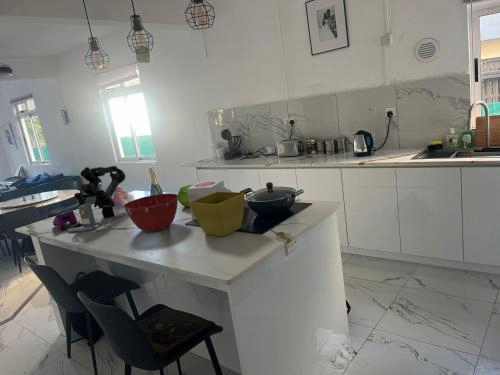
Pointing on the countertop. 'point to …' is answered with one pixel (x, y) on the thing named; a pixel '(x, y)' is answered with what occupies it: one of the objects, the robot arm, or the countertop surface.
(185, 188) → the lettuce
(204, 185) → the pizza boxes
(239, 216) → the flower pot
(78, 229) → the rail plate
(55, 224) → the mounting bracket
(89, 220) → the block
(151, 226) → the mixing bowl
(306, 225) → the countertop surface
